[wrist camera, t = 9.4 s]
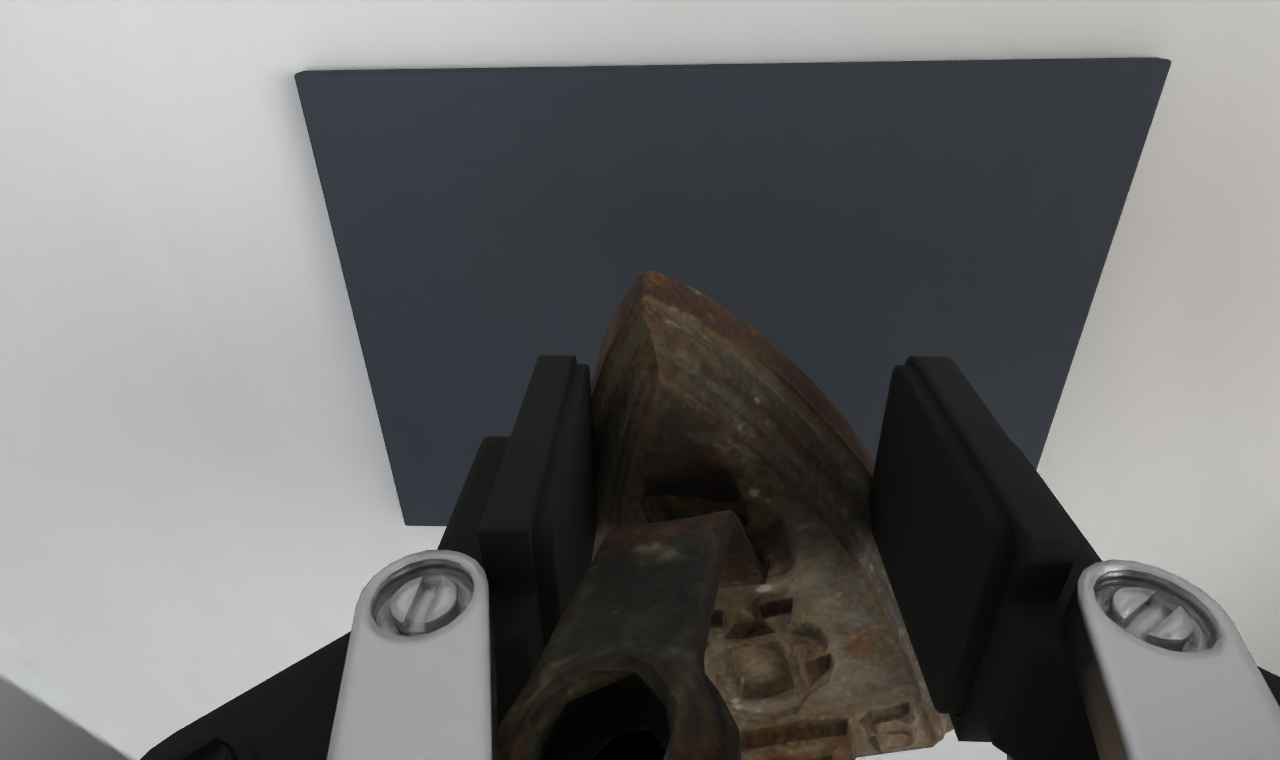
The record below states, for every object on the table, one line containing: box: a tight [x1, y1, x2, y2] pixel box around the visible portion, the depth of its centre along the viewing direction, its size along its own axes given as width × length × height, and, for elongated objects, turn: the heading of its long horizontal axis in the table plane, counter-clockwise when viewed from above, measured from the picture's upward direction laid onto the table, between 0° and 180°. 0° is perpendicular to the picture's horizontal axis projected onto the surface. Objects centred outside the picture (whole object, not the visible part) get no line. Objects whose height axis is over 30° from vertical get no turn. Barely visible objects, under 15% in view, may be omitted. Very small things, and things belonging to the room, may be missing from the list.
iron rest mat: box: [295, 58, 1171, 526], centre depth 20 cm, size 20×14×1 cm
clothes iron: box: [498, 270, 954, 760], centre depth 10 cm, size 7×11×10 cm, turn 19°
